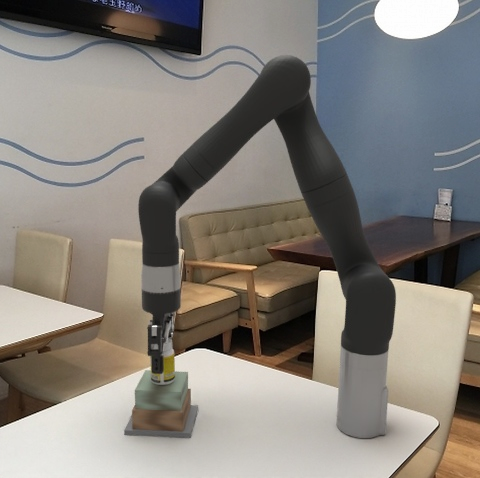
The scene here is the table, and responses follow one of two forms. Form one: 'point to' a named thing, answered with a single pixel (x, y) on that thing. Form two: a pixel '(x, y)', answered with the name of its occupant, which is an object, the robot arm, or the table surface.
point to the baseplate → (182, 434)
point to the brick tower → (161, 404)
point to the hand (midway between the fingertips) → (162, 363)
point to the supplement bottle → (165, 366)
